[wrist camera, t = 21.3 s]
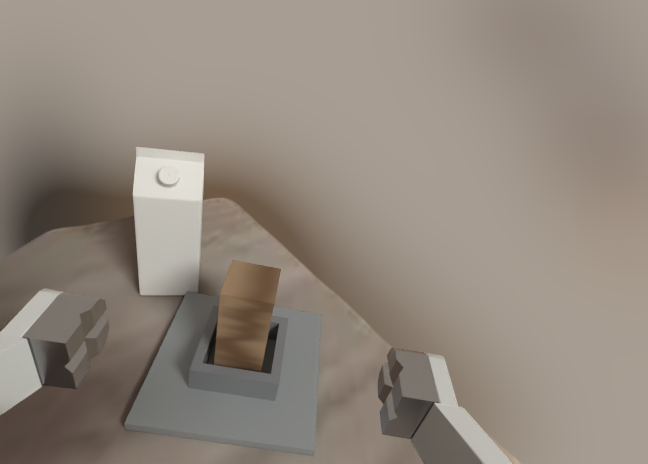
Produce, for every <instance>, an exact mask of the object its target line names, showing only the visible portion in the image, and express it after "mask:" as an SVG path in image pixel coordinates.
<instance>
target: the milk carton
mask: <svg viewBox="0 0 648 464" xmlns="http://www.w3.org/2000/svg"><path fill="white" fill-rule="evenodd" d="M203 181H204V154H202V153H192V152H182V151H173V150H162V149H153V148H143V147H136V166H135V176H134V187H133V204H134V219H135V233H136V247H137V262H138V276H139V290H140V295H185V294H186V292H187V291H188V292H194V293H198V285H199V270H200V251H201V228H202V205H203Z"/></svg>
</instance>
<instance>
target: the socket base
mask: <svg viewBox="0 0 648 464" xmlns="http://www.w3.org/2000/svg"><path fill="white" fill-rule="evenodd" d="M219 300H220V297H217V296H211V295H206V294H200V293H194V292H188V291H187V292H186V294H185V297H184V299H183V301H182V303H181V305H180V307H179V309H178V311H177V313H176V316H175V318H174V320H173V322H172V324H171V326H170V328H169V330H168V332H167V334H166V337H165V339H164V341H163V343H162V345H161V347H160V349H159V351H158V353H157V356H156V358H155V360H154V362H153V364H152V366H151V368H150V370H149V372H148V374H147V377H146V379H145V381H144V383H143V385H142V387H141V389H140V391H139V393H138V396H137V398H136V400H135V402H134V404H133V406H132V408H131V410H130V412H129V415H128V417H127V419H126V421H125V423H124V426H125V429H127V430H134V431H141V432H148V433H155V434H162V435H169V436H176V437H183V438H190V439H197V440H205V441H212V442H219V443H226V444H233V445H240V446H247V447H254V448H261V449H268V450H275V451H283V452H290V453H297V454H304V455H311V456H313V454H314V451H315V436H316V416H317V396H318V376H319V356H320V335H321V315H320V314H314V313H309V312H303V311H297V310H291V309H286V308H280V307H274V308H273V313H272V318H271V323H270V328H269V333H268V338H267V344H266V349H265V354H264V359H263V364H262V369H261V372H255V371H249V370H242V369H236V368H230V367H223V366H217V365H214V358H215V347H216V335H217V323H218V311H219Z"/></svg>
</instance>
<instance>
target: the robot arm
mask: <svg viewBox="0 0 648 464" xmlns="http://www.w3.org/2000/svg"><path fill="white" fill-rule="evenodd" d="M105 310H106V304H105V300H103V299H99V298H94V297H89V296H84V295H79V294H74V293H69V292H62V291H57V290H52V289H46V288H45V289H43V290H41V291H39V292H38V293H37V294H36V295H35V296H34V297H33V298H32V299H31V300H30V301H29V302H28V303H27V304H26V305H25V306H24V307H23V308H22V309H21V310H20V312H19V313H18V314H17V315H16V316H15V317H14V318H13V319H12V320H11V321H10V322H9V323H8V324H7V325H6V326H5V327H4V328H3V329H2V330H1V332H0V415H2V414H3V413H5V412H6V411H8V410H9V409H11V408H12V407H13V406H15V405H16V404H18V403H19V402H21V401H22V400H24V399H25V398H26V397H28V396H29V395H31V394H32V393H34V392H35V391H37V390H38V389H40V388H41V387H42V385H47V386H55V387H63V388H72V389H77V387H78V386H79V384H80V382H81V381H82V379H83V378H84V376H85V375H86V373H87V371H88V370H89V368H90V365H89V359H90V358H92V357H94V356H96V355H97V354H99V352H100V351H101V349H102V347H103V346H104V344H105V341H106V338H107V335H108V329H109V324H108V320H107V319H106V317H105V316H104V315H103V313H104V312H105ZM387 358H388V363H386V364H384V365H383V366H382V368H381V371H380V374H379V379H378V397H379V399H380V400H381V402H382V403H383V406H382V408H381V411H380V419H381V428H382V434H383V435H389V436H394V437H400V438H406V439H411V443H412V444H413V446H414V448H415V449H416V451H417V452H418V454H419V456H420V457H421V459H422V461H423V462H424V464H513V463H512V462H511V461H510V460H509V459H508V458H507V457H506V456H505V454H504V453H503V452H502V451H501V450H500V449H499V448H498V446H497V445H496V444H495V443H494V442H493V441H492V440H491V438H490V437H489V436H488V435H487V434H486V433H485V432H484V430H483V429H482V428H481V427H480V426H479V425H478V424H477V423H476V421H475V420H474V419H473V418H472V417H471V416H470V415H469V414H468V412H467V411H466V410H465V409H464V408H463V407H459V406H458V404H457V400H456V397H455V393H454V390H453V386H452V383H451V379H450V376H449V372H448V369H447V366H446V362H445V359H444V357H443V356H441V355H435V354H429V353H424V352H418V351H411V350H405V349H398V348H392V349H390V351H389V353H388V355H387Z"/></svg>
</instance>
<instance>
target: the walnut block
mask: <svg viewBox="0 0 648 464" xmlns="http://www.w3.org/2000/svg"><path fill="white" fill-rule="evenodd" d="M280 271H281V269H278V268H273V267H267V266H262V265H256V264H251V263H245V262H240V261H234V260H232V263H231V265H230V268H229V271H228V273H227V276H226V279H225V282H224V284H223V287H222V290H221V292H220V300H219V311H218V323H217V335H216V347H215V358H214V365H217V366H223V367H230V368H236V369H242V370H249V371H255V372H261V369H262V364H263V359H264V354H265V349H266V344H267V338H268V333H269V328H270V323H271V318H272V313H273V308H274V302H275V297H276V292H277V287H278V282H279V277H280Z"/></svg>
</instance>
